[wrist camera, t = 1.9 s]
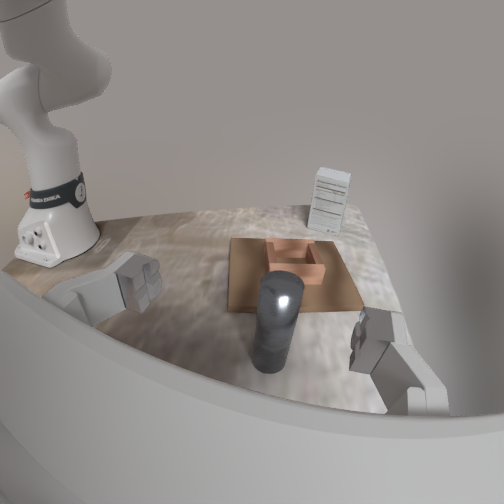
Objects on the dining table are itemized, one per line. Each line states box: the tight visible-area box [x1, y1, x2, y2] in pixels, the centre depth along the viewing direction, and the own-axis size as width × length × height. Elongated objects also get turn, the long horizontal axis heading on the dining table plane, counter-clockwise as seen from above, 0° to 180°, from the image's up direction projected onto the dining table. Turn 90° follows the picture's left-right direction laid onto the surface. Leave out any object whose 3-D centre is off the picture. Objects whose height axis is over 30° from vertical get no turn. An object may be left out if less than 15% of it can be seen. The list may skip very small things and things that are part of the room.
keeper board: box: [228, 238, 364, 313], centre depth 44 cm, size 20×18×4 cm
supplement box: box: [307, 167, 351, 236], centre depth 58 cm, size 7×7×13 cm
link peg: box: [252, 270, 305, 374], centre depth 28 cm, size 4×4×12 cm
